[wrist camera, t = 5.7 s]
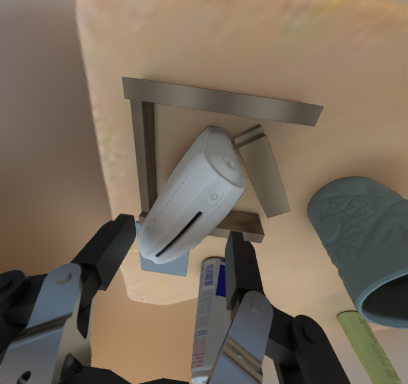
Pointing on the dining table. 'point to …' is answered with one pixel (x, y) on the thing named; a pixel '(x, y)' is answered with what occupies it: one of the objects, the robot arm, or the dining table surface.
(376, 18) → the dining table surface
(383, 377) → the tube
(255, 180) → the block
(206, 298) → the beverage can
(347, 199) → the teal cup
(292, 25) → the dining table surface
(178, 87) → the wooden tray
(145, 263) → the mat
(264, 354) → the robot arm
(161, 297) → the dining table surface
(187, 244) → the rounded white slotted gadget
